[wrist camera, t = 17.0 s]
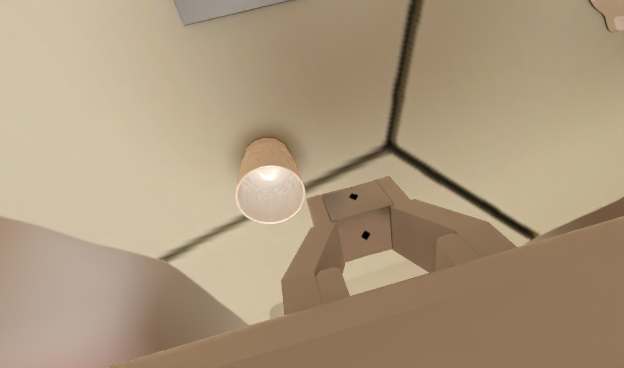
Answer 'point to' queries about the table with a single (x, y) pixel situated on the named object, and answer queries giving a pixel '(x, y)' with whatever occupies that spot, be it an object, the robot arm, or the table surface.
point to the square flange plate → (216, 8)
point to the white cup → (269, 183)
